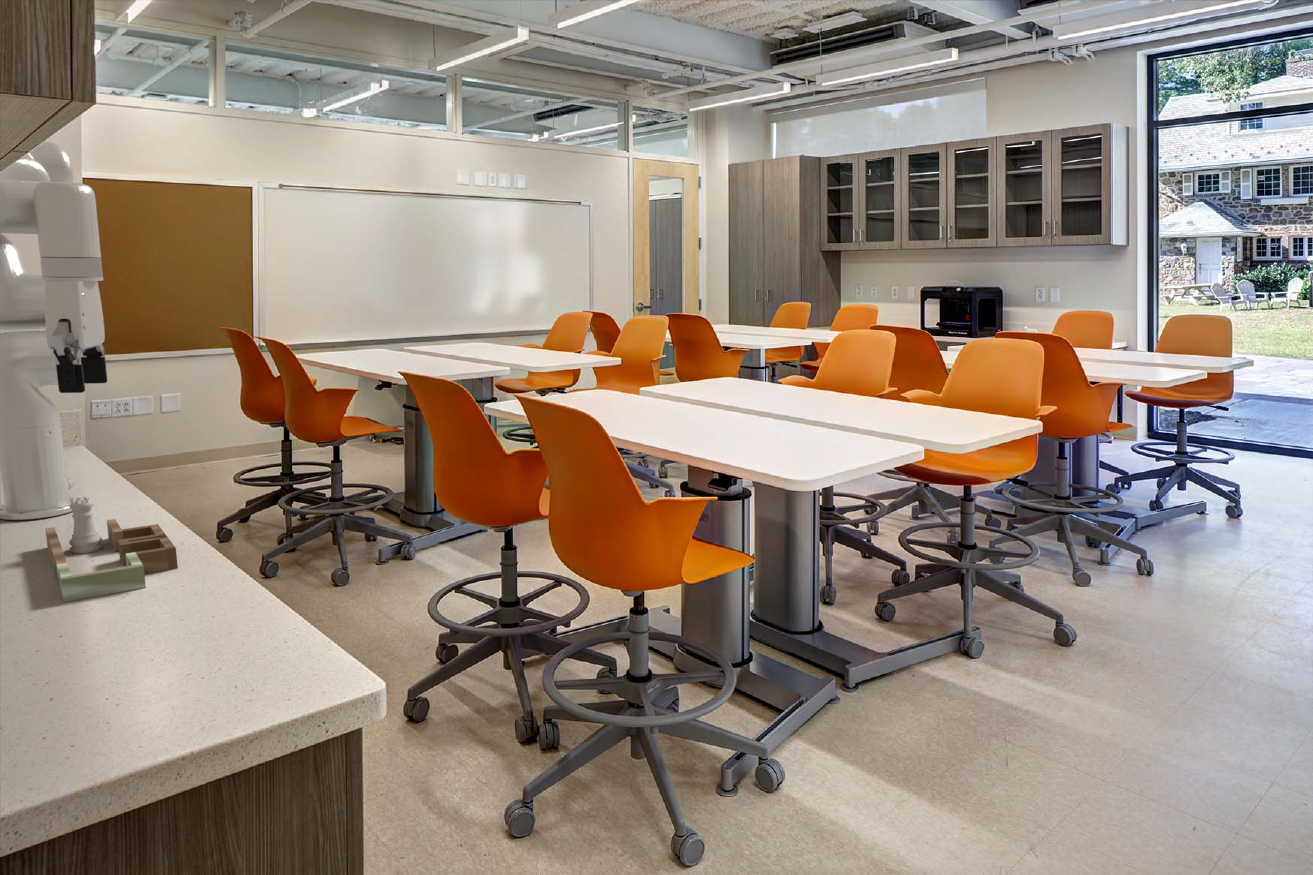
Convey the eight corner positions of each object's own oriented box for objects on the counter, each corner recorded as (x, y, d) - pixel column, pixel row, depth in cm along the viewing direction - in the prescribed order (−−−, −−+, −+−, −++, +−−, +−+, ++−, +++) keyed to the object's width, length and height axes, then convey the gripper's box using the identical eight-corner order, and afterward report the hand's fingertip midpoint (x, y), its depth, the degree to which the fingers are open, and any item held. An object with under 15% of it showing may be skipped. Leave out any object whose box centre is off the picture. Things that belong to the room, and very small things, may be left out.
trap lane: (47, 547, 143) (45, 528, 142) (152, 531, 151) (150, 514, 151) (63, 601, 120) (61, 579, 119) (186, 580, 128) (184, 559, 128)
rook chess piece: (87, 555, 139) (81, 503, 138) (62, 553, 140) (56, 502, 139) (110, 546, 144) (105, 496, 142) (85, 544, 145) (80, 494, 143)
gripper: (65, 269, 141) (76, 380, 145) (17, 271, 125) (32, 397, 128) (119, 269, 143) (130, 379, 146) (80, 272, 127) (92, 396, 130)
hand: (84, 387), depth 137 cm, fingers open, 9 cm apart
